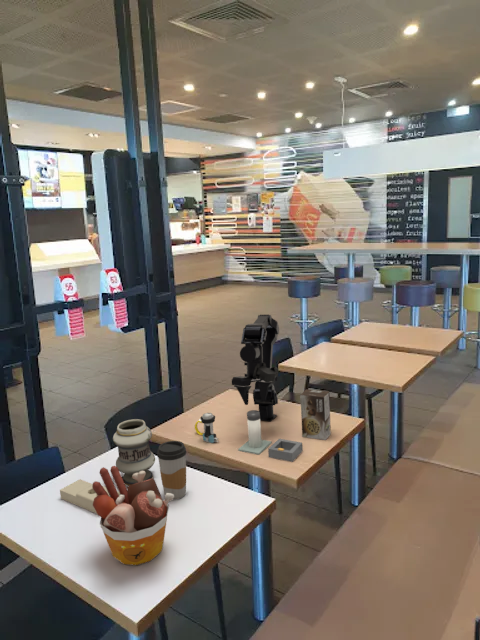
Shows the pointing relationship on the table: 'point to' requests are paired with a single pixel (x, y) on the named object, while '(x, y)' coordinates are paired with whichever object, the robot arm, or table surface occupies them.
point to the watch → (197, 428)
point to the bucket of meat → (131, 516)
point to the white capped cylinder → (254, 428)
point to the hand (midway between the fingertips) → (255, 403)
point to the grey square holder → (285, 450)
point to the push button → (208, 427)
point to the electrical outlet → (80, 494)
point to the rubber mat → (255, 450)
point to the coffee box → (315, 414)
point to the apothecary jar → (133, 450)
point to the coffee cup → (173, 468)
